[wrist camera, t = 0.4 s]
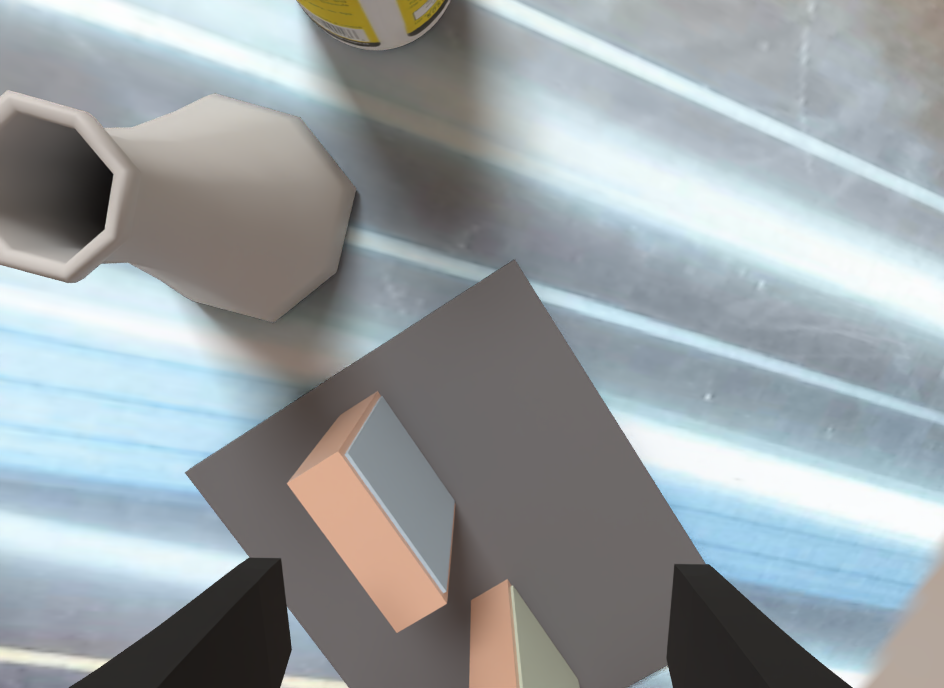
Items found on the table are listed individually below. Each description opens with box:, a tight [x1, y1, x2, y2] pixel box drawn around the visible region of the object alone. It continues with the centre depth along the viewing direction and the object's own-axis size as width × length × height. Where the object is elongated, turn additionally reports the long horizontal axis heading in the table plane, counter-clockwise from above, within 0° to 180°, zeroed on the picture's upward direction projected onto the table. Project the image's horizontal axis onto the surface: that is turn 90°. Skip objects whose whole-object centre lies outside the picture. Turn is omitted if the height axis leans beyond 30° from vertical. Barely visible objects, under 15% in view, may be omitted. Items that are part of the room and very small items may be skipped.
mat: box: [185, 260, 705, 688], centre depth 22 cm, size 14×16×1 cm
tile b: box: [287, 391, 456, 633], centre depth 19 cm, size 2×5×6 cm, turn 33°
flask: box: [0, 90, 356, 323], centre depth 16 cm, size 7×7×10 cm
